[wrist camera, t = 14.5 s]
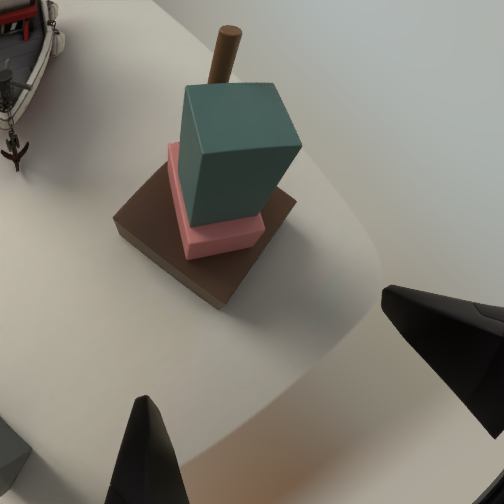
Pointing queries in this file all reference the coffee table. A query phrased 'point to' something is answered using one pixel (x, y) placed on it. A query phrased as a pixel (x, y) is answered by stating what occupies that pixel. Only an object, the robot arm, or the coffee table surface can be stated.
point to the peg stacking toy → (228, 156)
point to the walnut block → (171, 247)
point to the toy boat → (24, 59)
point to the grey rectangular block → (10, 456)
